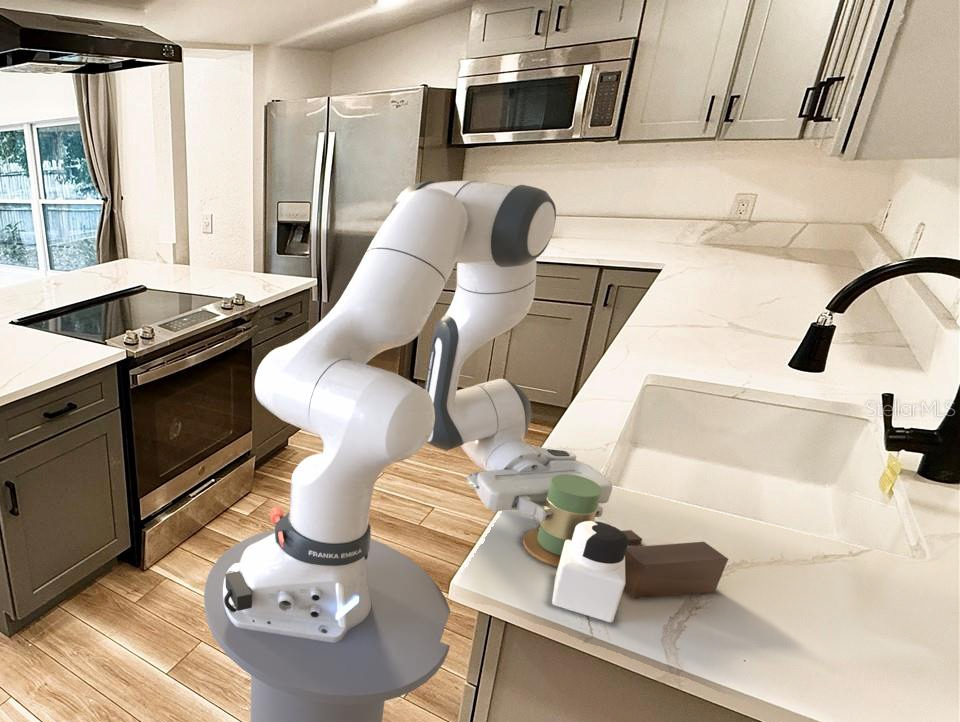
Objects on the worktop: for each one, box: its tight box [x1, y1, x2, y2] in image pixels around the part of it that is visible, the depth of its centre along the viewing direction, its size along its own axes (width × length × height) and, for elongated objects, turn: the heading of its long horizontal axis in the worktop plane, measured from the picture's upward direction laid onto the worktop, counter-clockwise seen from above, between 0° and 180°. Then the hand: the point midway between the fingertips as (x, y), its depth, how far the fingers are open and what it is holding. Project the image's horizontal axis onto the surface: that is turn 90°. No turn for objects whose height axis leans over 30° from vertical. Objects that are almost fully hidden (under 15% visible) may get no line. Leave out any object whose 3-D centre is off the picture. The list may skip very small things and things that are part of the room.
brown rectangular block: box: [621, 529, 729, 599], centre depth 92 cm, size 14×12×6 cm
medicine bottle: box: [551, 520, 629, 623], centre depth 85 cm, size 7×7×12 cm
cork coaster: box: [522, 528, 561, 568], centre depth 98 cm, size 10×10×1 cm
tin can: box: [537, 474, 602, 555], centre depth 95 cm, size 12×7×12 cm
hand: (572, 515), depth 94 cm, fingers closed on tin can, 6 cm apart
